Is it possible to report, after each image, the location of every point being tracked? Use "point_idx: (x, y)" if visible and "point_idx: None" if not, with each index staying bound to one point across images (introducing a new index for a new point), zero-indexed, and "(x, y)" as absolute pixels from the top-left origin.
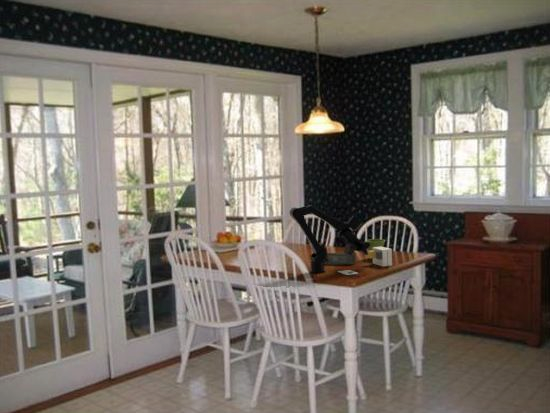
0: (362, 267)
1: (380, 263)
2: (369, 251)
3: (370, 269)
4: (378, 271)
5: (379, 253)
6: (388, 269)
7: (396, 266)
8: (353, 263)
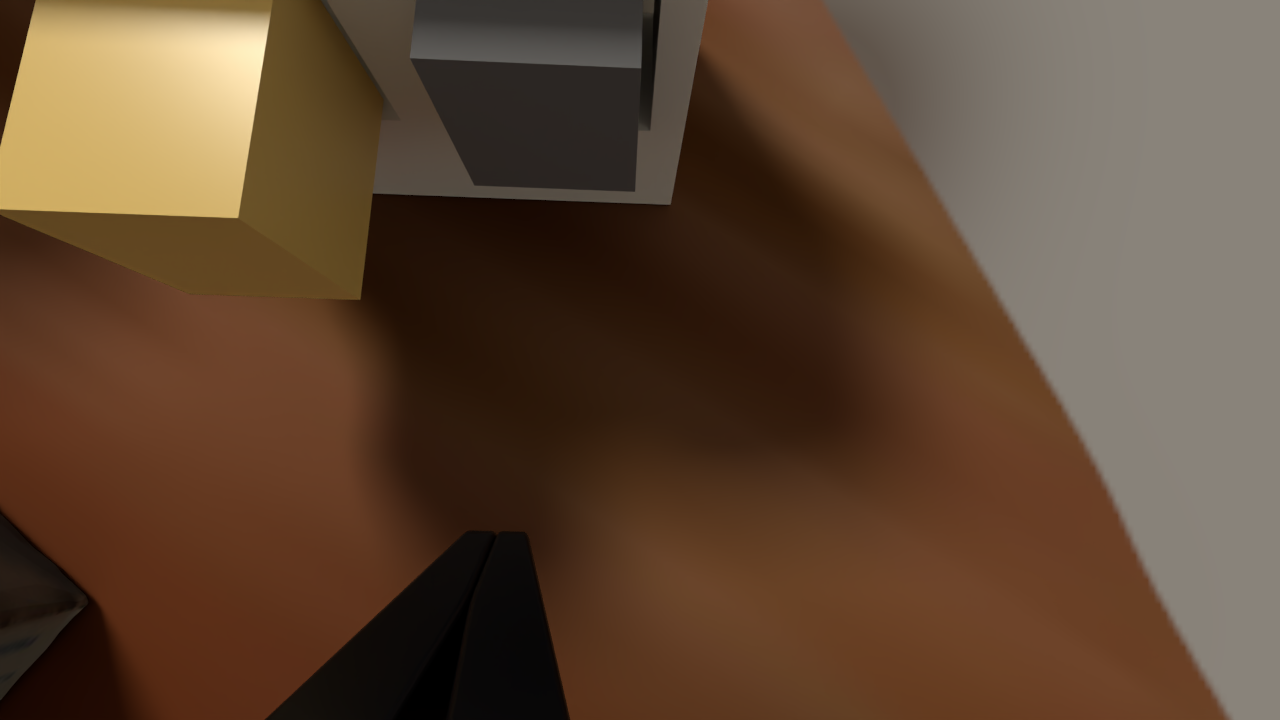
0: None
1: None
2: (170, 212)
3: (797, 592)
4: (1066, 567)
5: (638, 82)
6: (976, 284)
7: (797, 11)
8: (62, 618)
